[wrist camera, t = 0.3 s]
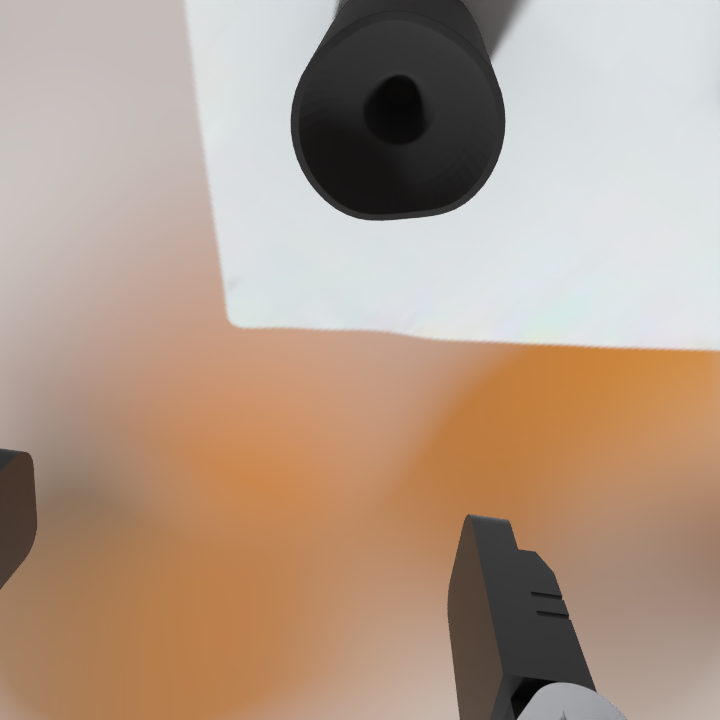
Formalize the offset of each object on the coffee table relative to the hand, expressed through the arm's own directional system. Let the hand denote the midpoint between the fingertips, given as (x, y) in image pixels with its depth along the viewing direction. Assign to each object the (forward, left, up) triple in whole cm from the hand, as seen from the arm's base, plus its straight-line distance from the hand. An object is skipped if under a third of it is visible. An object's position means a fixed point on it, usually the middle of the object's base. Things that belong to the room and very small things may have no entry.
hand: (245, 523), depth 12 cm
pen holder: (+2, +1, -31) cm, 31 cm away
